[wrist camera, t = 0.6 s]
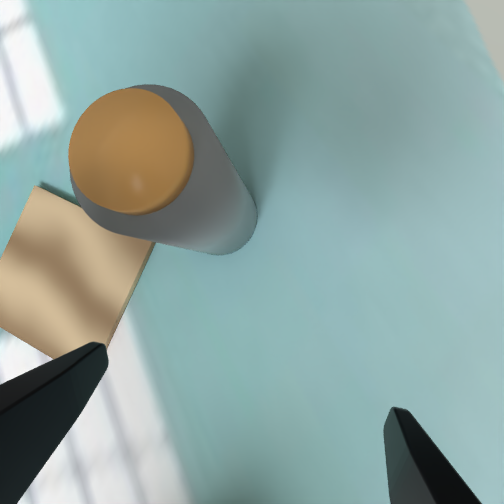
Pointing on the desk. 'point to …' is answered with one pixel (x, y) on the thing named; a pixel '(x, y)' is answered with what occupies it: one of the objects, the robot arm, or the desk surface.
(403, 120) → the desk surface
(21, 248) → the mat
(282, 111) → the desk surface
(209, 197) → the canister
